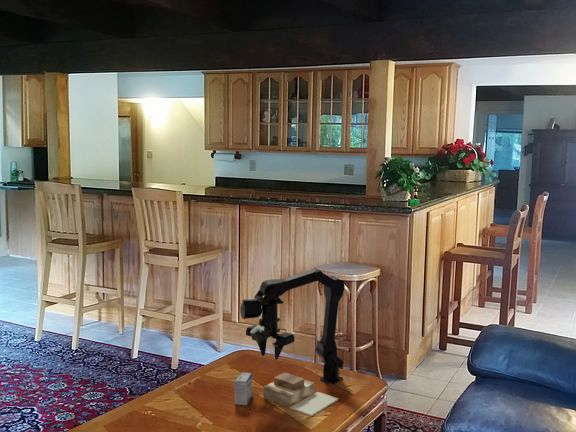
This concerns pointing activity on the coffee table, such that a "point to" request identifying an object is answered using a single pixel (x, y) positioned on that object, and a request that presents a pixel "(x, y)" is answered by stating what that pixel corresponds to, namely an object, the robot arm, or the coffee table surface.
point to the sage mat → (314, 403)
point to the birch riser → (288, 393)
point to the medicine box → (243, 388)
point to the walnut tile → (289, 381)
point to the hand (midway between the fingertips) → (269, 357)
